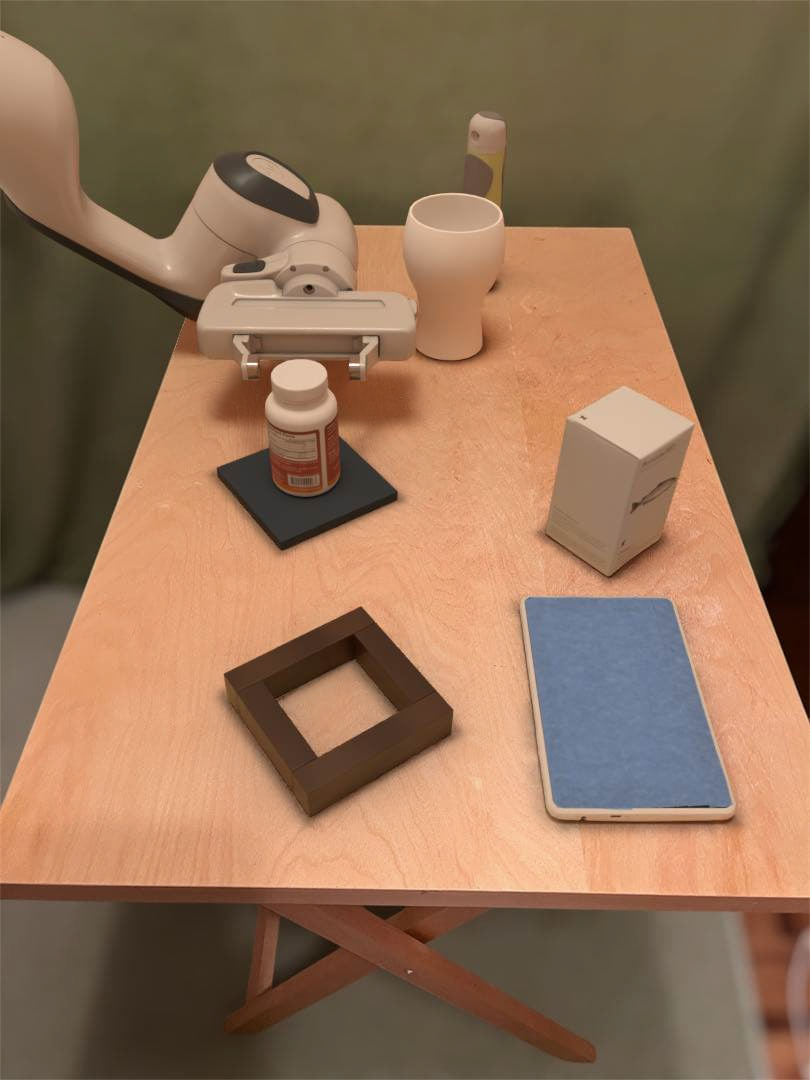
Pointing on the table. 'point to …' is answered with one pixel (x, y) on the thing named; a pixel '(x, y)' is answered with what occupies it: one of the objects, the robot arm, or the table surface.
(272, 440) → the pill bottle
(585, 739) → the tablet
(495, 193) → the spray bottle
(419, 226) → the cup
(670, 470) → the white packaging box
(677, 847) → the table surface
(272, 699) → the holder
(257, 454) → the coaster
